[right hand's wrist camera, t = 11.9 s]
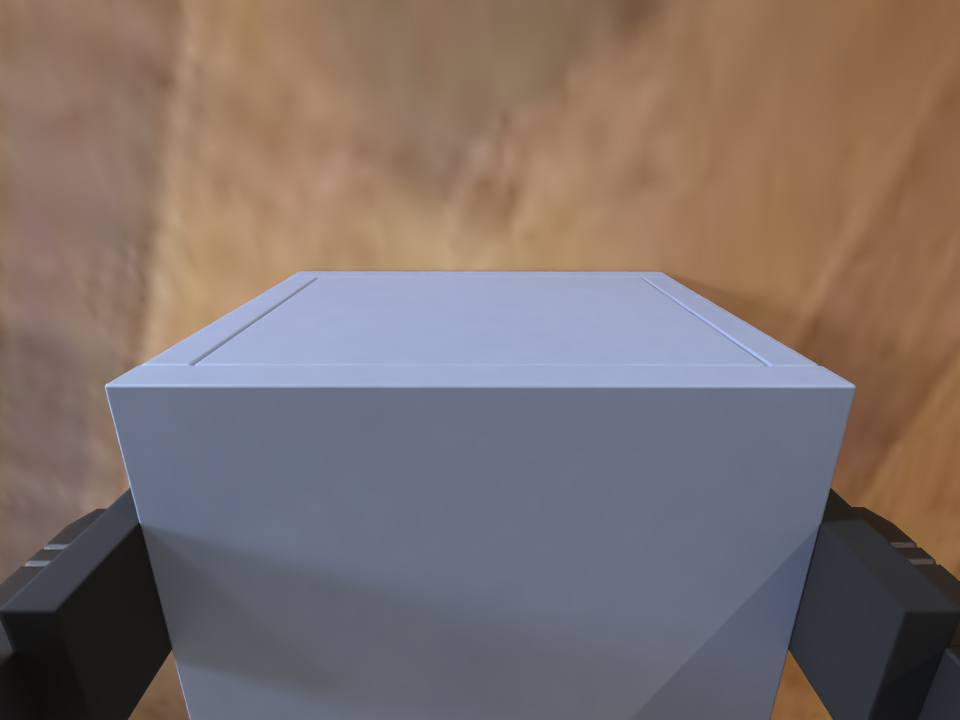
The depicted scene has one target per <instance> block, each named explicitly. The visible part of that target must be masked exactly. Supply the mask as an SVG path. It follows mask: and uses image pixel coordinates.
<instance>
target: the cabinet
mask: <svg viewBox="0 0 960 720" xmlns="http://www.w3.org/2000/svg"><path fill="white" fill-rule="evenodd" d="M105 390H106V393H107V397H108V401H109V405H110V409H111V413H112V417H113V421H114V425H115V429H116V433H117V436H118V440H119V444H120V448H121V452H122V456H123V460H124V464H125V468H126V472H127V476H128V479H129V483H130V487H131V491H132V495H133V499H134V503H135V507H136V511H137V515H138V519H139V522H140V526H141V530H142V534H143V538H144V542H145V546H146V550H147V554H148V558H149V562H150V565H151V569H152V573H153V577H154V581H155V585H156V589H157V593H158V597H159V601H160V605H161V608H162V612H163V616H164V620H165V624H166V628H167V632H168V636H169V640H170V644H171V648H172V651H173V655H174V659H175V663H176V667H177V671H178V675H179V679H180V683H181V687H182V691H183V694H184V698H185V702H186V706H187V710H188V714H189V718H190V720H770V719H771V715H772V711H773V707H774V703H775V699H776V695H777V692H778V688H779V684H780V680H781V676H782V672H783V668H784V665H785V661H786V657H787V653H788V649H789V645H790V641H791V638H792V634H793V630H794V626H795V622H796V618H797V614H798V610H799V607H800V603H801V599H802V595H803V591H804V587H805V583H806V580H807V576H808V572H809V568H810V564H811V560H812V556H813V553H814V549H815V545H816V541H817V537H818V533H819V529H820V526H821V522H822V518H823V514H824V510H825V506H826V502H827V498H828V495H829V491H830V487H831V483H832V479H833V475H834V471H835V468H836V464H837V460H838V456H839V452H840V448H841V444H842V441H843V437H844V433H845V429H846V425H847V421H848V417H849V413H850V410H851V406H852V402H853V398H854V394H855V390H856V386H855V385H854V384H852V383H850V382H849V381H847V380H845V379H843V378H842V377H840V376H838V375H837V374H835V373H833V372H832V371H830V370H828V369H826V368H825V367H823V366H819V365H818V364H816V363H814V362H813V361H811V360H809V359H808V358H806V357H804V356H803V355H801V354H799V353H797V352H796V351H794V350H792V349H791V348H789V347H787V346H786V345H784V344H782V343H780V342H779V341H777V340H775V339H774V338H772V337H770V336H769V335H767V334H765V333H763V332H762V331H760V330H758V329H757V328H755V327H753V326H752V325H750V324H748V323H746V322H745V321H743V320H741V319H740V318H738V317H736V316H735V315H733V314H731V313H729V312H728V311H726V310H724V309H723V308H721V307H719V306H718V305H716V304H714V303H713V302H711V301H709V300H707V299H706V298H704V297H702V296H701V295H699V294H697V293H696V292H694V291H692V290H690V289H689V288H687V287H685V286H684V285H682V284H680V283H679V282H677V281H675V280H673V279H672V278H670V277H669V276H667V275H666V274H664V273H662V272H525V271H300V272H298V273H296V274H294V275H293V276H291V277H290V278H288V279H286V280H285V281H283V282H281V283H280V284H278V285H276V286H275V287H273V288H271V289H270V290H268V291H266V292H264V293H263V294H261V295H259V296H258V297H256V298H254V299H253V300H251V301H249V302H247V303H246V304H244V305H242V306H241V307H239V308H237V309H236V310H234V311H232V312H230V313H229V314H227V315H225V316H224V317H222V318H220V319H219V320H217V321H215V322H214V323H212V324H210V325H208V326H207V327H205V328H203V329H202V330H200V331H198V332H197V333H195V334H193V335H191V336H190V337H188V338H186V339H185V340H183V341H181V342H180V343H178V344H176V345H174V346H173V347H171V348H169V349H168V350H166V351H164V352H163V353H161V354H159V355H157V356H156V357H154V358H152V359H151V360H149V361H147V362H146V363H144V364H143V365H142V366H137V367H135V368H134V369H132V370H130V371H128V372H127V373H125V374H123V375H122V376H120V377H118V378H116V379H115V380H113V381H111V382H110V383H108V384H106V386H105Z"/></svg>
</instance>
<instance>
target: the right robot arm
mask: <svg viewBox="0 0 960 720" xmlns="http://www.w3.org/2000/svg"><path fill="white" fill-rule="evenodd" d="M171 650H172V648H171V644H170V640H169V636H168V632H167V628H166V624H165V620H164V616H163V612H162V608H161V605H160V601H159V597H158V593H157V589H156V585H155V581H154V577H153V573H152V569H151V565H150V562H149V558H148V554H147V550H146V546H145V542H144V538H143V534H142V530H141V526H140V522H139V519H138V515H137V511H136V507H135V503H134V499H133V495H132V491H131V487H130V488H129V489H128V490H127V491H126V492H125V493H124V494H123V495H122V496H121V497H120V498H119V499H117V500H116V501H115V502H114V503H113V504H112V505H111V506H110V507H109V508H108V509H96V510H95V511H93V512H91V513H89V514H87V515H86V516H84V517H82V518H80V519H79V520H77V521H75V522H73V523H72V524H70V525H68V526H67V527H66V528H64V529H63V530H62V531H61V532H60V533H59V534H58V535H56V536H55V537H54V538H53V539H52V540H51V541H50V542H49V543H47V544H46V545H45V549H44V550H39V551H38V552H37V553H36V554H35V555H34V556H33V557H31V558H30V559H29V560H28V561H27V562H26V566H25V567H20V568H19V569H18V570H17V571H16V572H14V573H13V574H12V575H11V576H10V577H9V578H8V579H6V580H5V581H4V582H3V583H2V584H1V585H0V720H128V718H129V716H130V715H131V713H132V712H133V710H134V708H135V707H136V705H137V704H138V702H139V701H140V699H141V697H142V696H143V694H144V693H145V691H146V690H147V688H148V686H149V685H150V683H151V682H152V680H153V678H154V677H155V675H156V674H157V672H158V671H159V669H160V667H161V666H162V664H163V663H164V661H165V659H166V658H167V656H168V655H169V653H170V652H171ZM789 651H790V652H791V654H792V655H793V657H794V659H795V660H796V662H797V663H798V665H799V666H800V668H801V670H802V671H803V673H804V674H805V676H806V678H807V679H808V681H809V682H810V684H811V685H812V687H813V689H814V690H815V692H816V693H817V695H818V696H819V698H820V700H821V701H822V703H823V704H824V706H825V708H826V709H827V711H828V712H829V714H830V715H831V717H832V719H833V720H960V581H958V580H957V579H956V578H955V577H954V576H953V575H952V574H950V573H949V572H948V571H947V570H946V569H945V568H944V567H942V566H941V565H937V564H936V563H935V560H934V559H933V558H932V557H931V556H930V555H929V554H928V553H926V552H925V551H924V550H923V549H922V548H917V546H916V543H915V542H914V541H913V540H912V539H910V538H909V537H908V536H907V535H906V534H905V533H903V532H902V531H901V530H900V529H899V528H898V527H897V526H895V525H894V524H893V523H891V522H889V521H888V520H886V519H884V518H882V517H880V516H879V515H877V514H875V513H873V512H872V511H870V510H868V509H866V508H864V507H851V506H850V505H849V504H847V503H846V502H845V501H844V500H843V499H842V498H841V497H840V496H839V495H838V494H837V493H836V492H835V491H833V490H832V489H831V488H830V491H829V495H828V498H827V502H826V506H825V510H824V514H823V518H822V522H821V526H820V529H819V533H818V537H817V541H816V545H815V549H814V553H813V556H812V560H811V564H810V568H809V572H808V576H807V580H806V583H805V587H804V591H803V595H802V599H801V603H800V607H799V610H798V614H797V618H796V622H795V626H794V630H793V634H792V638H791V641H790V645H789Z"/></svg>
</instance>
